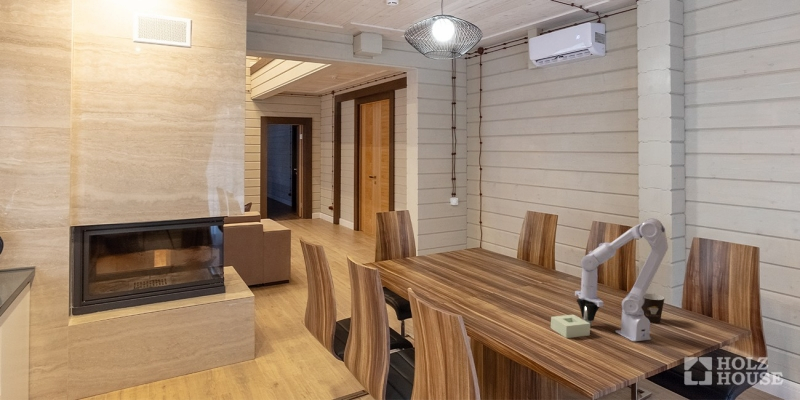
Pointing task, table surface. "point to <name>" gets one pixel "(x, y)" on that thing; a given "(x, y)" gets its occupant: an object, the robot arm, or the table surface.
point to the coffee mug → (653, 307)
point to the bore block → (570, 326)
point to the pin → (586, 316)
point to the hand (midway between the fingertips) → (587, 319)
